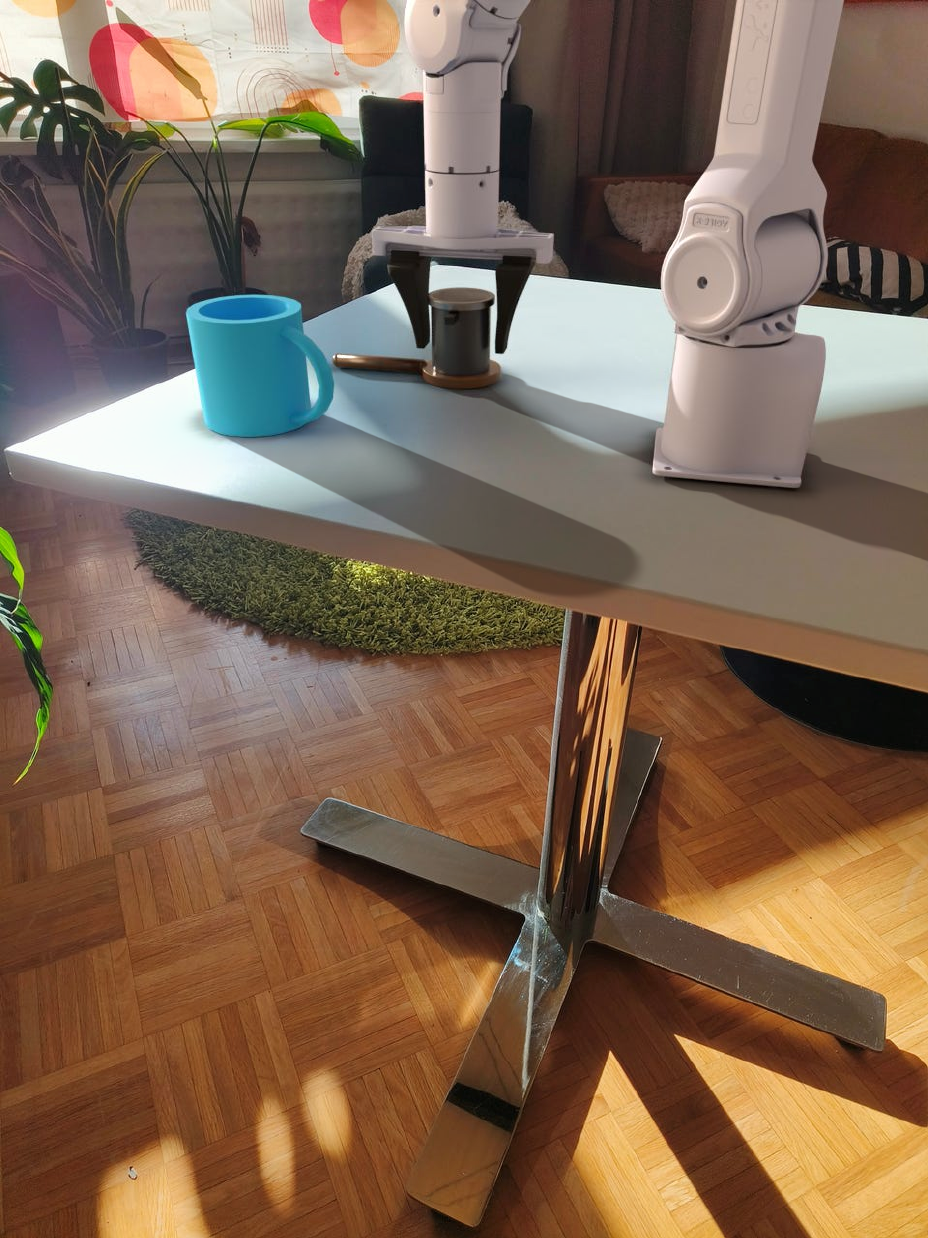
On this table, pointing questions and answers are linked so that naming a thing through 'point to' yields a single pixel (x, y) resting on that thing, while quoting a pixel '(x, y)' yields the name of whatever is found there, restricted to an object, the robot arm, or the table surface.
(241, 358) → the mug
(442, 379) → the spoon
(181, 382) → the table surface
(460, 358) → the pot
